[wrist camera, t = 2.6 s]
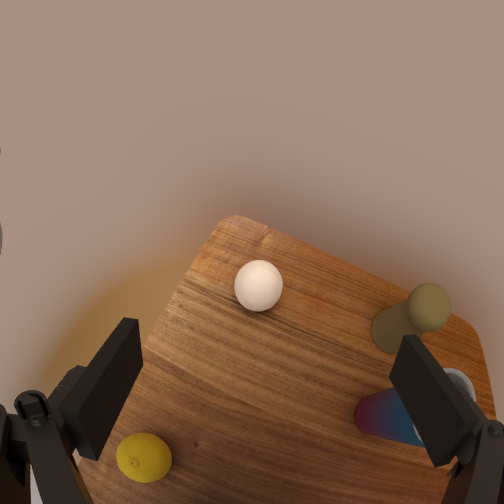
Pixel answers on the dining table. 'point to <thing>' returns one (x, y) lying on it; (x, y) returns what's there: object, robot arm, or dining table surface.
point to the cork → (411, 317)
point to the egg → (258, 285)
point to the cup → (396, 413)
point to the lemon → (144, 457)
